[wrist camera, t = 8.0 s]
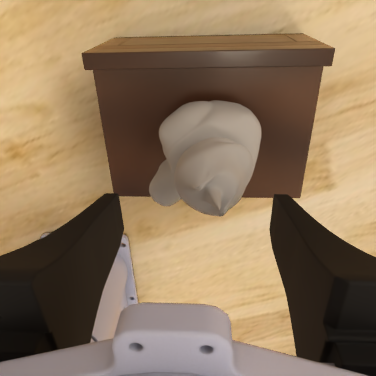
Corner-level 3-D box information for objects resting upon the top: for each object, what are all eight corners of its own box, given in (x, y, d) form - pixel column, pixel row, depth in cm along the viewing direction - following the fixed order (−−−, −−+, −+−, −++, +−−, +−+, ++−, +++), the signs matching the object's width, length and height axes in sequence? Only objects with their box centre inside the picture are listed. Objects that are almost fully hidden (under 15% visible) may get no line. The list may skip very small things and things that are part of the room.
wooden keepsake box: (285, 162, 25) (305, 209, 20) (130, 162, 26) (109, 206, 21) (303, 33, 20) (335, 48, 15) (113, 37, 21) (81, 53, 16)
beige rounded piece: (278, 140, 19) (316, 226, 12) (189, 199, 21) (179, 298, 14) (221, 63, 17) (228, 113, 10) (131, 138, 19) (87, 219, 12)
